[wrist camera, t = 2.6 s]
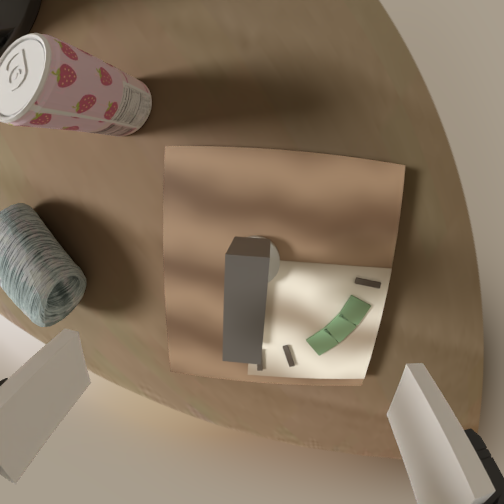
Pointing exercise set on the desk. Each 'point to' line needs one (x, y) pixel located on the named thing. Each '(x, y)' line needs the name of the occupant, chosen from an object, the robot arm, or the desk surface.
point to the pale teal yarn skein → (37, 268)
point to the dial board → (291, 258)
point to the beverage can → (68, 89)
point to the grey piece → (247, 296)
